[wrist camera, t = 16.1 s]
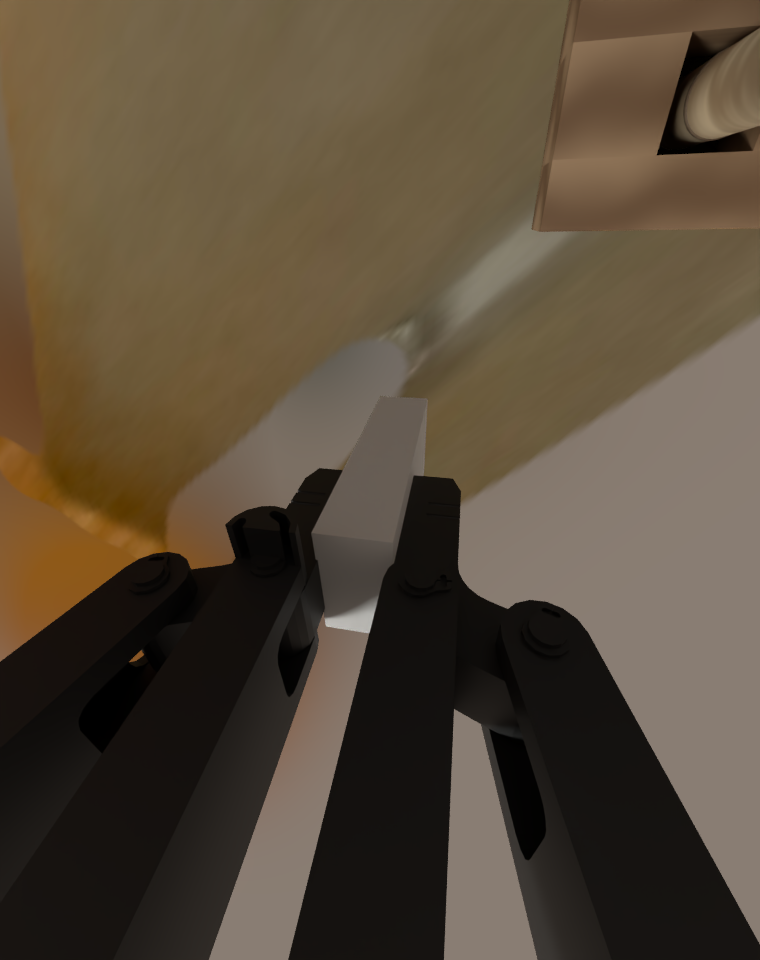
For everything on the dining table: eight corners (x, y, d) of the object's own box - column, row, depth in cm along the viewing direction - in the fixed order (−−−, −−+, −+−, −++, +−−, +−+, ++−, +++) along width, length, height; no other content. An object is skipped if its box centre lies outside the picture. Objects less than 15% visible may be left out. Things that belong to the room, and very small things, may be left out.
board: (573, -22, 22) (592, -68, 19) (915, -63, 20) (1017, -126, 16) (531, 229, 29) (540, 231, 25) (781, 225, 26) (831, 227, 23)
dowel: (665, 73, 24) (845, -57, 12) (735, 67, 23) (993, -75, 12) (643, 152, 26) (779, 105, 14) (707, 149, 25) (902, 97, 14)
